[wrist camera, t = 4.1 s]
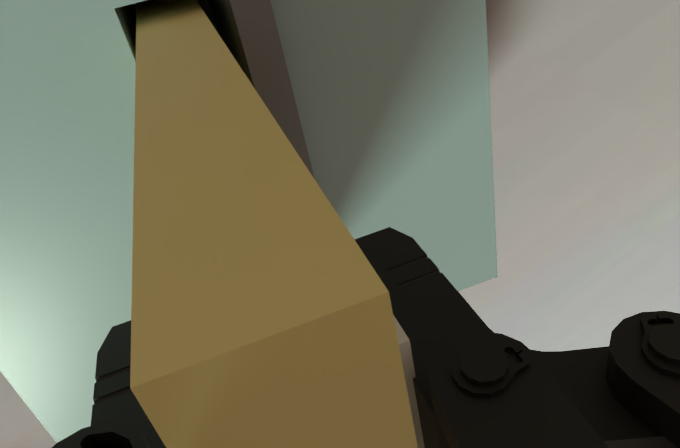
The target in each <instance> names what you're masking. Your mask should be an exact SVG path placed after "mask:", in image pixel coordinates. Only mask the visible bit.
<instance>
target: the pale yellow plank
mask: <svg viewBox="0 0 680 448" xmlns="http://www.w3.org/2000/svg"><path fill="white" fill-rule="evenodd" d="M130 389H131V390H132V392H133V394H134V395H135V397H136V399H137V400H138V402H139V404H140V405H141V407H142V409H143V410H144V412H145V413H146V415H147V417H148V418H149V420H150V422H151V423H152V425H153V427H154V428H155V430H156V432H157V433H158V435H159V437H160V438H161V440H162V442H163V443H164V445H165V446H166V448H418V446H417V440H416V435H415V430H414V424H413V419H412V414H411V408H410V403H409V397H408V392H407V387H406V381H405V376H404V371H403V365H402V360H401V354H400V349H399V344H398V338H397V333H396V328H395V322H394V317H393V311H392V306H391V301H390V295H389V291H388V290H387V288H386V287H385V285H384V284H383V282H382V281H381V279H380V278H379V276H378V275H377V273H376V272H375V270H374V269H373V267H372V266H371V264H370V262H369V261H368V259H367V258H366V256H365V255H364V253H363V252H362V250H361V249H360V247H359V246H358V244H357V243H356V241H355V240H354V238H353V237H352V235H351V234H350V232H349V231H348V229H347V228H346V226H345V225H344V223H343V222H342V220H341V219H340V217H339V216H338V214H337V213H336V211H335V209H334V208H333V206H332V205H331V203H330V202H329V200H328V199H327V197H326V196H325V194H324V193H323V191H322V190H321V188H320V187H319V185H318V184H317V182H316V181H315V179H314V178H313V176H312V175H311V173H310V172H309V170H308V169H307V167H306V166H305V164H304V163H303V161H302V160H301V158H300V156H299V155H298V153H297V152H296V150H295V149H294V147H293V146H292V144H291V143H290V141H289V140H288V138H287V137H286V135H285V134H284V132H283V131H282V129H281V128H280V126H279V125H278V123H277V122H276V120H275V119H274V117H273V116H272V114H271V113H270V111H269V110H268V108H267V107H266V105H265V104H264V102H263V100H262V99H261V97H260V96H259V94H258V93H257V91H256V90H255V88H254V87H253V85H252V84H251V82H250V81H249V79H248V78H247V76H246V75H245V73H244V72H243V70H242V69H241V67H240V66H239V64H238V63H237V61H236V60H235V58H234V57H233V55H232V54H231V52H230V51H229V49H228V47H227V46H226V44H225V43H224V41H223V40H222V38H221V37H220V35H219V34H218V32H217V31H216V29H215V28H214V26H213V25H212V23H211V22H210V20H209V19H208V17H207V16H206V14H205V13H204V11H203V10H202V8H201V7H200V5H199V4H198V2H197V1H196V0H146V1H142V2H138V3H137V13H136V71H135V130H134V189H133V248H132V307H131V366H130Z"/></svg>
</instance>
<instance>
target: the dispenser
mask: <svg viewBox="0 0 680 448" xmlns="http://www.w3.org/2000/svg"><path fill="white" fill-rule="evenodd" d="M142 1H146V0H0V371H1V372H2V374H3V375H4V376H5V378H6V379H7V380H8V381H9V383H10V384H11V385H12V386H13V388H14V389H15V390H16V392H17V393H18V394H19V395H20V397H21V398H22V399H23V401H24V402H25V403H26V404H27V406H28V407H29V408H30V410H31V411H32V412H33V413H34V415H35V416H36V417H37V419H38V420H39V421H40V422H41V424H42V425H43V426H44V427H45V429H46V430H47V431H48V433H49V434H50V435H51V436H52V438H53V439H54V440H55V442H59V441H61V440H63V439H65V438H67V437H68V436H70V435H72V434H73V433H75V432H77V431H79V430H80V429H82V428H86V427H89V426H91V416H92V405H94V400H93V394H94V384H95V383H96V379H95V373H96V362H97V352H98V351H99V349H100V347H101V345H102V344H103V342H104V340H105V338H106V337H107V335H108V333H109V331H110V330H111V328H112V327H113V326H116V325H119V324H121V323H124V322H127V321H130V320H131V307H132V248H133V189H134V130H135V71H136V13H137V3H138V2H142ZM196 1H197V2H198V4H199V5H200V7H201V8H202V10H203V11H204V13H205V14H206V16H207V17H208V19H209V20H210V22H211V23H212V25H213V26H214V28H215V29H216V31H217V32H218V34H219V35H220V37H221V38H222V40H223V41H224V43H225V44H226V46H227V47H228V49H229V51H230V52H231V54H232V55H233V57H234V58H235V60H236V61H237V63H238V64H239V66H240V67H241V69H242V70H243V72H244V73H245V75H246V76H247V78H248V79H249V81H250V82H251V84H252V85H253V87H254V88H255V90H256V91H257V93H258V94H259V96H260V97H261V99H262V100H263V102H264V104H265V105H266V107H267V108H268V110H269V111H270V113H271V114H272V116H273V117H274V119H275V120H276V122H277V123H278V125H279V126H280V128H281V129H282V131H283V132H284V134H285V135H286V137H287V138H288V140H289V141H290V143H291V144H292V146H293V147H294V149H295V150H296V152H297V153H298V155H299V156H300V158H301V160H302V161H303V163H304V164H305V166H306V167H307V169H308V170H309V172H310V173H311V175H312V176H313V178H314V179H315V181H316V182H317V184H318V185H319V187H320V188H321V190H322V191H323V193H324V194H325V196H326V197H327V199H328V200H329V202H330V203H331V205H332V206H333V208H334V209H335V211H336V213H337V214H338V216H339V217H340V219H341V220H342V222H343V223H344V225H345V226H346V228H347V229H348V231H349V232H350V234H351V235H352V237H353V238H354V239H357V238H360V237H363V236H366V235H368V234H371V233H374V232H377V231H380V230H383V229H385V228H388V227H391V228H393V229H395V230H397V231H399V232H401V233H404V234H406V235H408V236H410V237H412V238H413V239H414V240H415V241H416V242H417V244H418V245H419V246H420V247H421V248H422V250H423V251H424V252H425V253H426V254H427V257H428V258H430V259H431V260H432V261H433V263H434V264H435V265H436V266H437V267H438V269H439V271H440V273H443V274H444V276H445V277H446V278H447V279H448V280H449V282H450V283H451V284H452V285H453V286H454V288H455V289H456V290H457V291H460V290H462V289H465V288H468V287H470V286H473V285H476V284H478V283H481V282H484V281H486V280H489V279H492V278H494V277H497V252H496V229H495V205H494V182H493V158H492V135H491V111H490V88H489V64H488V41H487V17H486V0H196Z"/></svg>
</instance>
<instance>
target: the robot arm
mask: <svg viewBox="0 0 680 448" xmlns="http://www.w3.org/2000/svg"><path fill="white" fill-rule="evenodd" d="M354 240H355V241H356V243H357V244H358V246H359V247H360V249H361V250H362V252H363V253H364V255H365V256H366V258H367V259H368V261H369V262H370V264H371V266H372V267H373V269H374V270H375V272H376V273H377V275H378V276H379V278H380V279H381V281H382V282H383V284H384V285H385V287H386V288H387V290H388V291H389V295H390V301H391V306H392V311H393V317H394V322H395V328H396V333H397V338H398V344H399V349H400V354H401V360H402V365H403V371H404V376H405V381H406V387H407V392H408V397H409V403H410V408H411V414H412V419H413V424H414V430H415V435H416V440H417V446H418V448H680V314H679V313H673V312H667V311H657V312H642V313H639V314H636V315H634V316H631V317H629V318H626V319H623V320H622V321H621V322H620V323H619V325H618V326H617V327H616V328H615V329H614V330H613V331H612V334H611V340H610V345H609V347H600V348H590V349H581V350H571V351H562V352H541V351H535V350H530V349H528V348H527V347H526V346H525V345H524V344H523V343H522V342H520V341H517V340H515V339H513V338H510V337H508V336H505V335H503V334H498V333H494V332H493V331H492V330H490V329H489V328H488V327H487V326H486V324H485V323H484V322H483V321H482V320H481V318H480V317H479V316H478V315H477V314H476V312H475V311H474V310H473V309H472V308H471V307H470V305H469V304H468V303H467V302H466V301H465V299H464V298H463V297H462V296H461V295H460V293H459V292H458V291H457V290H456V289H455V288H454V286H453V285H452V284H451V283H450V282H449V280H448V279H447V278H446V277H445V276H444V274H443V273H440V271H439V269H438V267H437V266H436V265H435V264H434V263H433V261H432V260H431V259H430V258H428V257H427V254H426V253H425V252H424V251H423V250H422V248H421V247H420V246H419V245H418V244H417V242H416V241H415V240H414V239H413V238H412V237H410V236H408V235H406V234H404V233H401V232H399V231H397V230H395V229H393V228H391V227H388V228H385V229H383V230H380V231H377V232H374V233H371V234H368V235H366V236H363V237H360V238H357V239H354ZM130 366H131V320H130V321H127V322H124V323H121V324H119V325H116V326H113V327H112V328H111V330H110V331H109V333H108V335H107V337H106V338H105V340H104V342H103V344H102V345H101V347H100V349H99V351H98V352H97V362H96V373H95V379H96V383H95V384H94V394H93V400H94V405H92V416H91V426H89V427H86V428H82V429H80V430H79V431H77V432H75V433H73V434H72V435H70V436H68V437H67V438H65V439H63V440H61V441H60V442H58V443H57V444H55V445H54V446H53V447H52V448H166V446H165V445H164V443H163V442H162V440H161V438H160V437H159V435H158V433H157V432H156V430H155V428H154V427H153V425H152V423H151V422H150V420H149V418H148V417H147V415H146V413H145V412H144V410H143V409H142V407H141V405H140V404H139V402H138V400H137V399H136V397H135V395H134V394H133V392H132V390H131V389H130Z"/></svg>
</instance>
